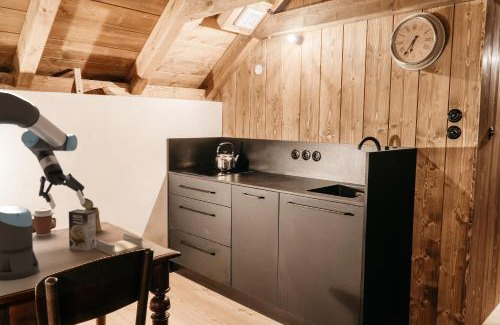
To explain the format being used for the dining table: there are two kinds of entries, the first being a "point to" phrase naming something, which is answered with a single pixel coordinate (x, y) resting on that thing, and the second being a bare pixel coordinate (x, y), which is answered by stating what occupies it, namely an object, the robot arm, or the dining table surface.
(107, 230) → the dining table surface
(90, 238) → the coffee box
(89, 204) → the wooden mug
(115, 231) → the dining table surface
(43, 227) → the coffee cup
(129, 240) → the shallow rail tray
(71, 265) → the dining table surface
